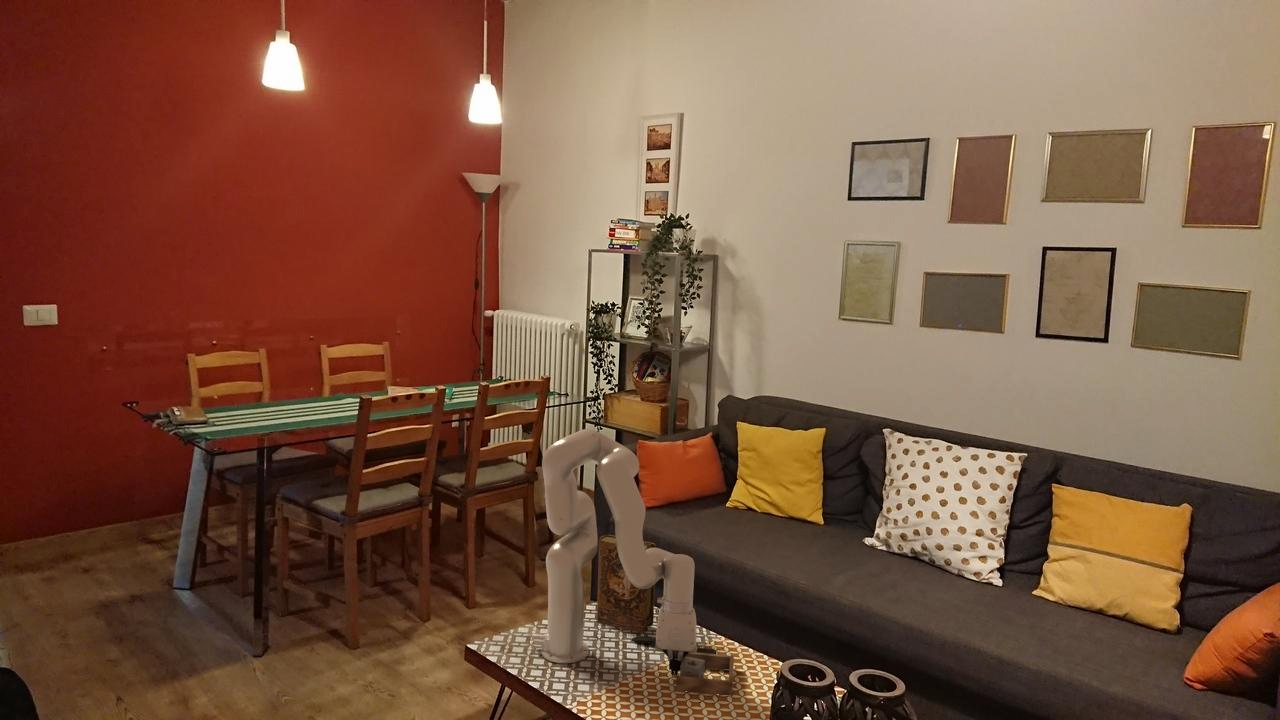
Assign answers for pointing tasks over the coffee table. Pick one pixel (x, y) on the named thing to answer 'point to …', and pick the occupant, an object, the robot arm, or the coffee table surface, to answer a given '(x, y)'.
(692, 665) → the dice cube
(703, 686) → the box
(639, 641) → the hairbrush
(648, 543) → the book
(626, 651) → the coffee table surface
